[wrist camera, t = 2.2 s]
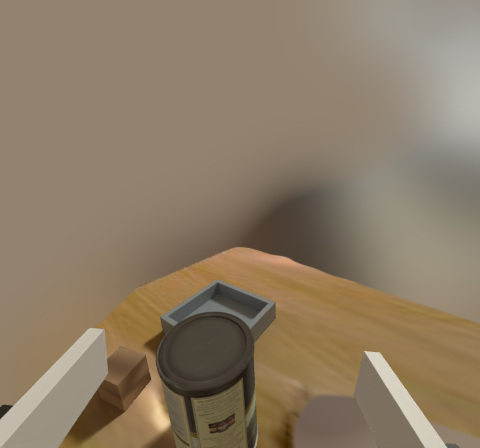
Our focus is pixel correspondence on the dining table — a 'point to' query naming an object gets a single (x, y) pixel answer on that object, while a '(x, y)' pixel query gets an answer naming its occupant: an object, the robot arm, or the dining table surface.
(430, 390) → the dining table surface
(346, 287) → the dining table surface
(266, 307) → the tray
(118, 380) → the walnut block
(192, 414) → the coffee can
